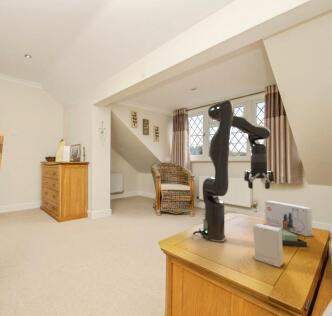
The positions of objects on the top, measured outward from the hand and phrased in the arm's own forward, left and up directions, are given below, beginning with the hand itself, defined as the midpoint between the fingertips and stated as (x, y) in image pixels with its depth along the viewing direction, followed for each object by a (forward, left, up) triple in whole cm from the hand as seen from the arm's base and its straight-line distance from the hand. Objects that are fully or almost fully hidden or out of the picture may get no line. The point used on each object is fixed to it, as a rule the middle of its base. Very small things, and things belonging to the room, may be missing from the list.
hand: (258, 188), depth 115 cm
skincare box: (+20, +8, -26) cm, 34 cm away
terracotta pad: (+5, -4, -25) cm, 26 cm away
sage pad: (+5, -12, -25) cm, 29 cm away
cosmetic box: (-18, -36, -26) cm, 48 cm away
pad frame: (+5, -8, -26) cm, 28 cm away
